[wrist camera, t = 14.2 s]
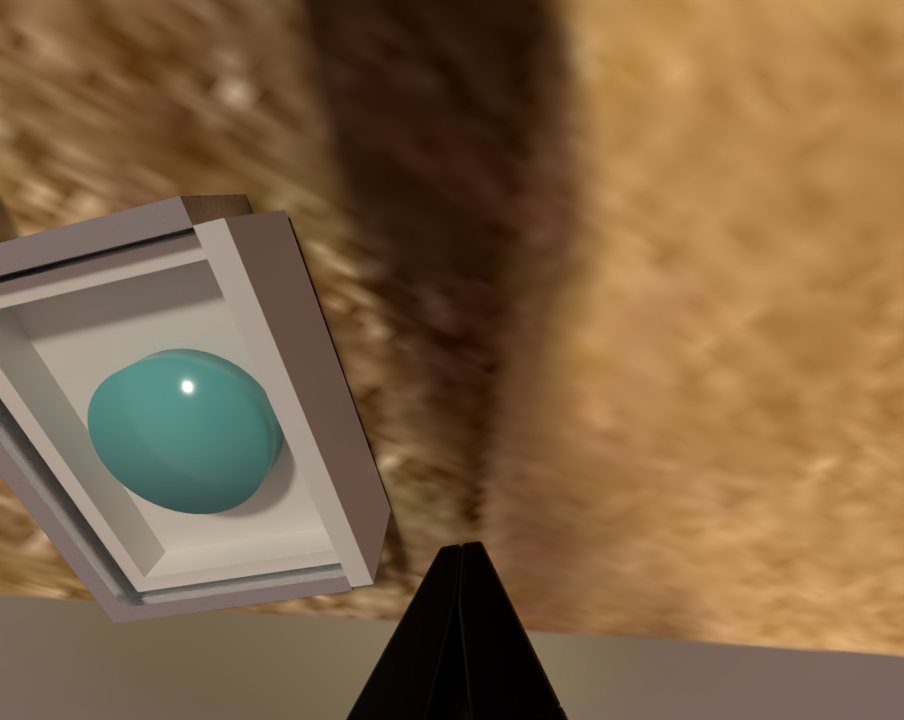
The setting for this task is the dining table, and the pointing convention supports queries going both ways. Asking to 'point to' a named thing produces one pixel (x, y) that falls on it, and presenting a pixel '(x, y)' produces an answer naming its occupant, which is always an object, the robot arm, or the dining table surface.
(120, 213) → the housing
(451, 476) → the dining table surface
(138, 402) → the teal hemisphere
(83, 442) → the tray
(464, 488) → the dining table surface
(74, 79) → the dining table surface
